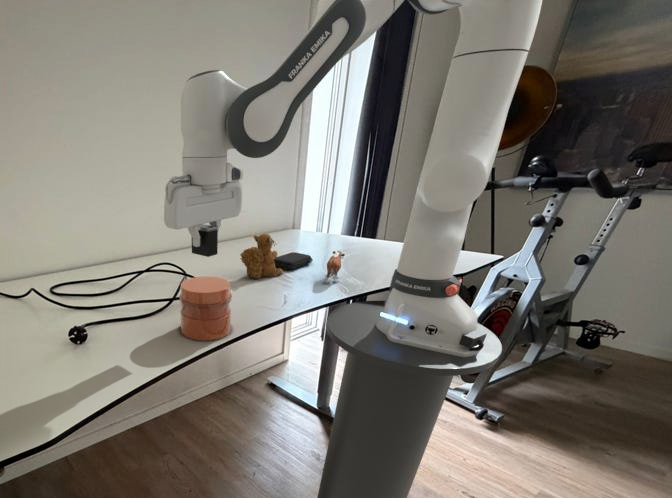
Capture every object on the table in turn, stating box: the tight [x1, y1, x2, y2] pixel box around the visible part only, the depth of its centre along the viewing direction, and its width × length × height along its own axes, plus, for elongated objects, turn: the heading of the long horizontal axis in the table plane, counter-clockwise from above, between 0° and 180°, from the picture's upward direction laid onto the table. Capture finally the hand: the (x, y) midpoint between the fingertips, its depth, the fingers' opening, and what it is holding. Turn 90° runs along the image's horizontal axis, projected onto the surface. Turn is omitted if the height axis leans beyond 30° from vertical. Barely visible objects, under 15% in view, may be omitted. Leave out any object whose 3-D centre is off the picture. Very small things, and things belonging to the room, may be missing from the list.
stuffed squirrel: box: [239, 233, 284, 280], centre depth 124 cm, size 10×14×13 cm
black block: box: [191, 224, 219, 258], centre depth 82 cm, size 5×3×6 cm, turn 45°
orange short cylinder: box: [178, 275, 233, 341], centre depth 89 cm, size 12×12×12 cm
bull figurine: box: [324, 249, 345, 284], centre depth 120 cm, size 4×13×8 cm, turn 152°
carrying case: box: [274, 251, 314, 271], centre depth 136 cm, size 11×3×15 cm
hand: (204, 244), depth 82 cm, fingers closed on black block, 3 cm apart
